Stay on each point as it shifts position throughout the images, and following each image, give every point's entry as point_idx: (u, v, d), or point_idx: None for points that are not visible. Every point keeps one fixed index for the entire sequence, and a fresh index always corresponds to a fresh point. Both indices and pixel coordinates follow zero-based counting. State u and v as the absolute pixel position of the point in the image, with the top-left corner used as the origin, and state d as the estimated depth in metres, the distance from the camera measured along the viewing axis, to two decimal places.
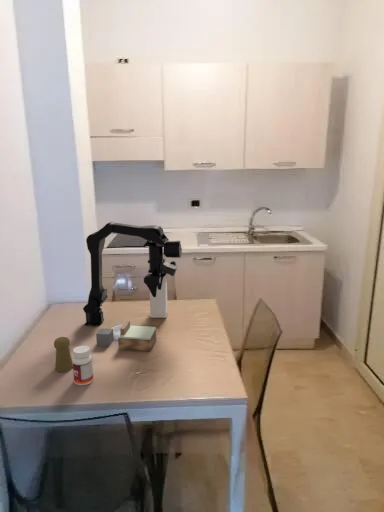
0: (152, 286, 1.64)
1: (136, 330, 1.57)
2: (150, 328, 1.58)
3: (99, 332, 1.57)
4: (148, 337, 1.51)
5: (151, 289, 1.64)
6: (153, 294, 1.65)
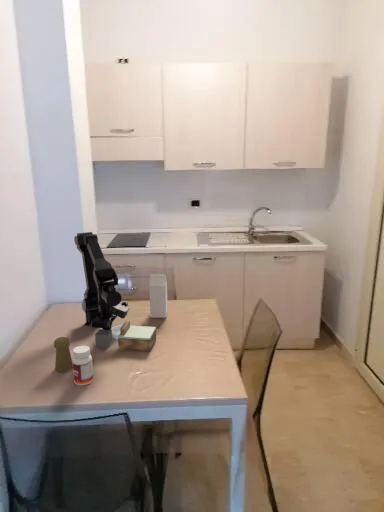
0: None
1: (136, 330, 1.57)
2: (150, 328, 1.58)
3: (98, 333, 1.56)
4: (148, 337, 1.51)
5: (104, 328, 1.60)
6: None
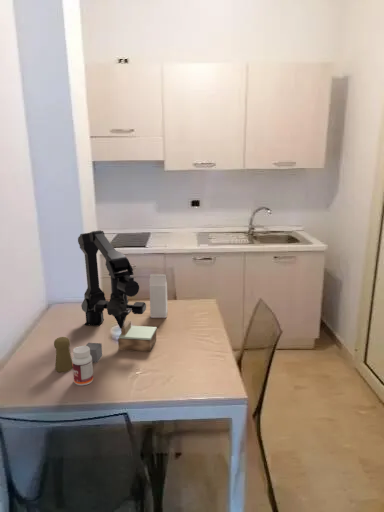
0: None
1: (137, 330, 1.57)
2: (151, 328, 1.58)
3: None
4: (149, 337, 1.51)
5: None
6: None
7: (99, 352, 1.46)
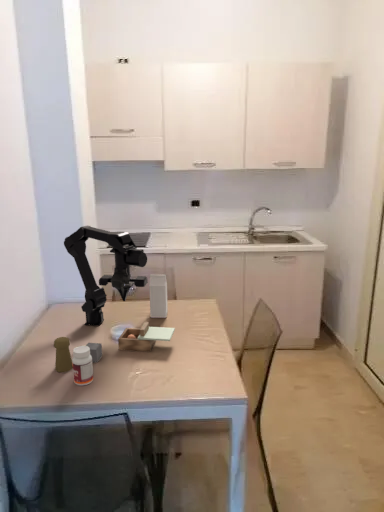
0: None
1: (155, 331, 1.56)
2: (170, 329, 1.57)
3: None
4: (168, 338, 1.50)
5: None
6: None
7: (99, 352, 1.46)
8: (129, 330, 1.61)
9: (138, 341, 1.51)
